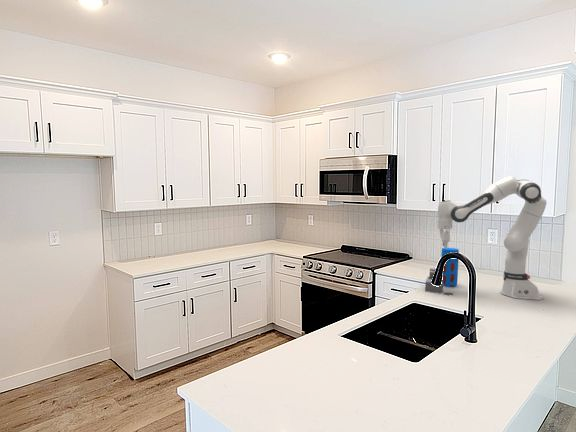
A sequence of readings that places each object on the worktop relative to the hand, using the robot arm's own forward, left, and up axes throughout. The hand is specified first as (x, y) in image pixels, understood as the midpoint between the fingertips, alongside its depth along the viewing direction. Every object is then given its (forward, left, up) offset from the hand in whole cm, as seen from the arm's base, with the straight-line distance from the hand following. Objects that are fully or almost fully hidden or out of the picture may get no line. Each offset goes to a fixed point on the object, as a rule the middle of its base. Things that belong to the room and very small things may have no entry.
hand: (444, 246), depth 254 cm
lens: (+6, +6, -22) cm, 24 cm away
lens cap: (-4, +10, -29) cm, 31 cm away
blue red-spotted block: (-3, -15, -28) cm, 32 cm away
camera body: (+5, +5, -28) cm, 29 cm away
